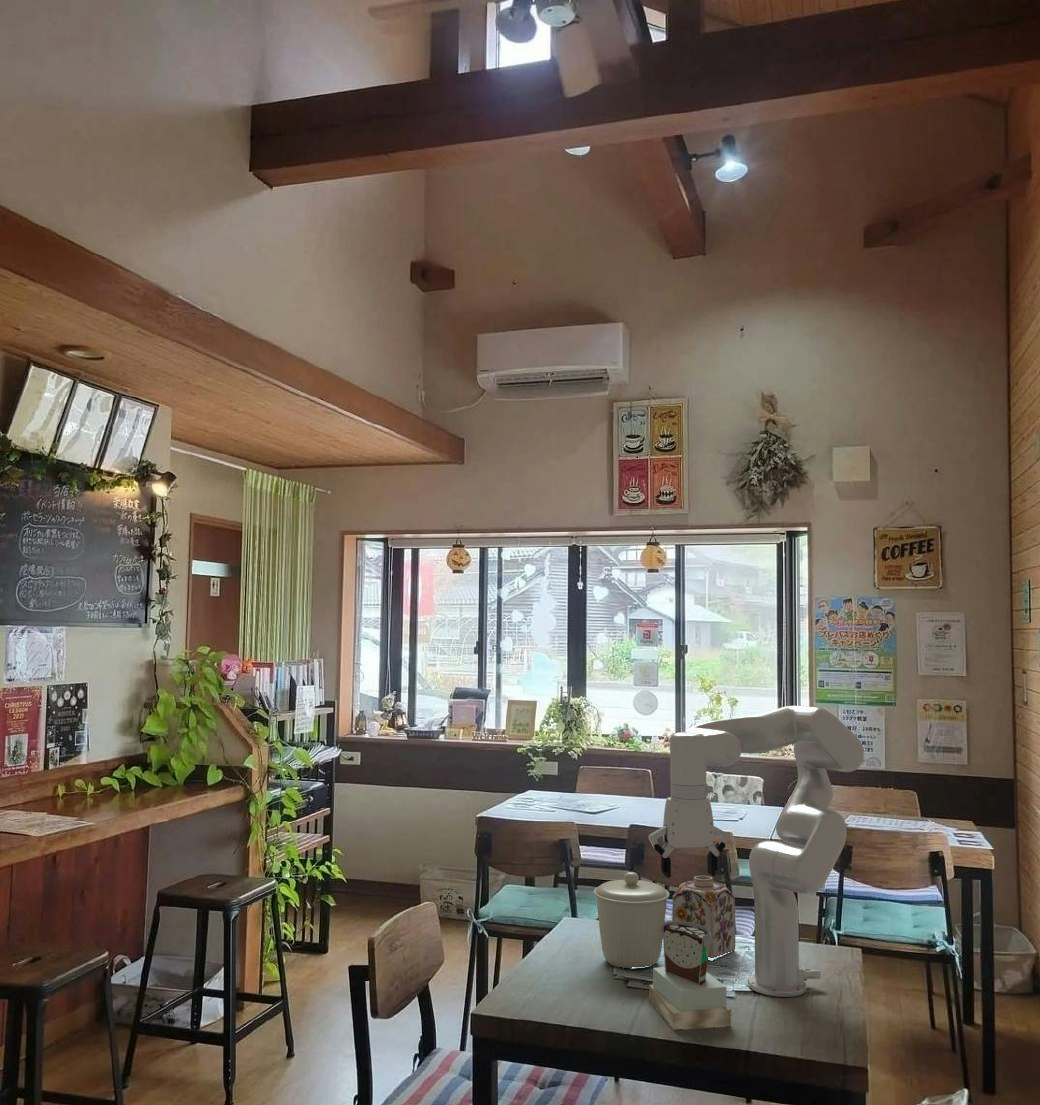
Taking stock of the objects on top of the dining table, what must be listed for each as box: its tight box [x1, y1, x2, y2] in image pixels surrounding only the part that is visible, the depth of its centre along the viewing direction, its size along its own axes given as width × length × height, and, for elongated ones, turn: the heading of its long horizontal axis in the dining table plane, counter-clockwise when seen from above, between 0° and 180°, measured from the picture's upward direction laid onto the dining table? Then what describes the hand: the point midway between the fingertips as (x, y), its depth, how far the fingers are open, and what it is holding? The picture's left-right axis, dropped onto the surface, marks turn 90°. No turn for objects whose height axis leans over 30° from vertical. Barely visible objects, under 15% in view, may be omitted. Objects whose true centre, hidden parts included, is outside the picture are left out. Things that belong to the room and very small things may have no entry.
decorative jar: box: [671, 875, 736, 958], centre depth 243 cm, size 12×12×18 cm
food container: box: [661, 920, 712, 985], centre depth 205 cm, size 12×6×10 cm, turn 38°
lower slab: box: [648, 984, 732, 1031], centre depth 203 cm, size 12×16×4 cm
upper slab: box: [652, 966, 727, 1012], centre depth 203 cm, size 10×14×4 cm
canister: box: [593, 871, 671, 969], centre depth 235 cm, size 18×18×21 cm
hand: (689, 875), depth 205 cm, fingers open, 9 cm apart
